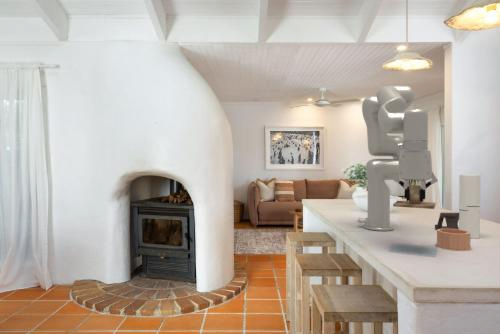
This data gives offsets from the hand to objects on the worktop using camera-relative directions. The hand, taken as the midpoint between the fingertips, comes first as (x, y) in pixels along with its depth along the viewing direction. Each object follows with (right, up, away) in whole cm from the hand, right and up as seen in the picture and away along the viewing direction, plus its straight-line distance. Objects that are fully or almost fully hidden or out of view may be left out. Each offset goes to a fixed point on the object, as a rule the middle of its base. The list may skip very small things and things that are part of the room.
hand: (414, 200), depth 119 cm
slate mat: (-1, -17, 0) cm, 17 cm away
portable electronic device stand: (+32, -17, +36) cm, 51 cm away
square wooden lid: (0, -2, 0) cm, 2 cm away
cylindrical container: (+33, -17, +23) cm, 44 cm away
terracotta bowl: (+15, -17, +4) cm, 23 cm away
